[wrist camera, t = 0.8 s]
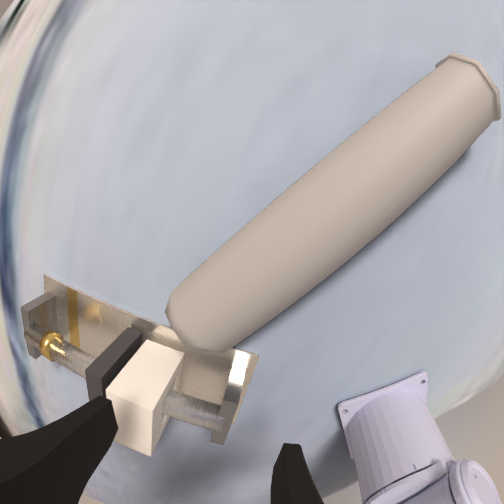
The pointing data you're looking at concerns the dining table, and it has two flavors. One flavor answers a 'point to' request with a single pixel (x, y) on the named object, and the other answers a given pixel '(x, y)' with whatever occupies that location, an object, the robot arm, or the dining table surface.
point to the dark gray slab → (111, 362)
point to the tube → (335, 207)
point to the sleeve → (144, 395)
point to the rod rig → (117, 320)
